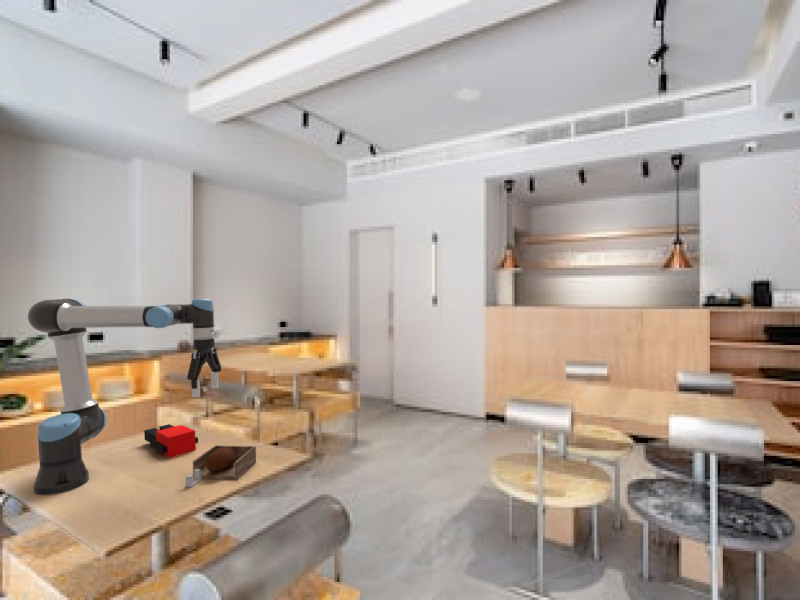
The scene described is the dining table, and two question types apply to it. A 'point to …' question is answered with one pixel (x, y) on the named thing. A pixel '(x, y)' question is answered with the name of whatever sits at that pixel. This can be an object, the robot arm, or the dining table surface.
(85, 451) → the dining table surface
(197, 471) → the clip
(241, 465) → the holder
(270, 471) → the dining table surface
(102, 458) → the dining table surface
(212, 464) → the potato
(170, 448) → the red-and-black block model
